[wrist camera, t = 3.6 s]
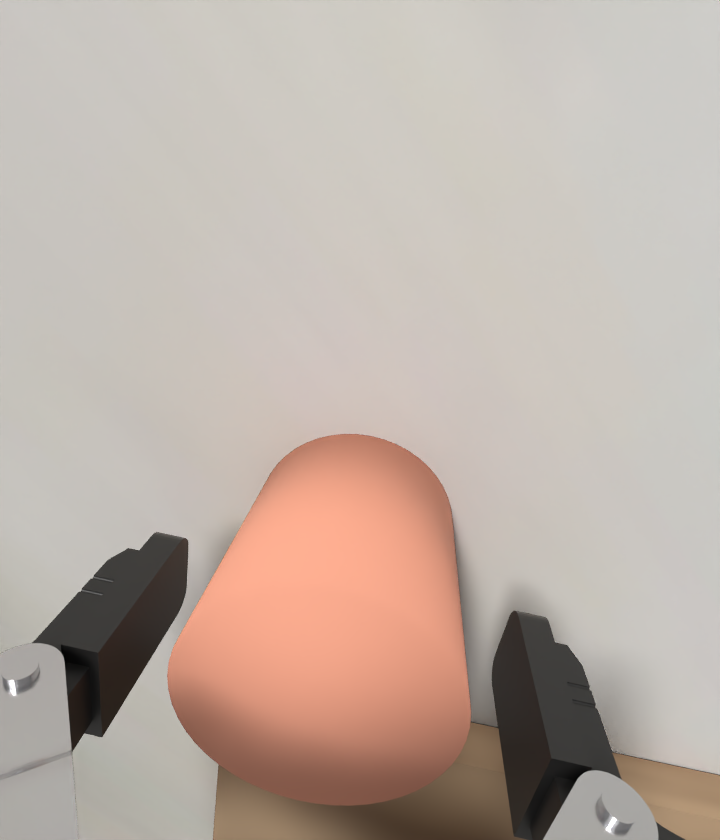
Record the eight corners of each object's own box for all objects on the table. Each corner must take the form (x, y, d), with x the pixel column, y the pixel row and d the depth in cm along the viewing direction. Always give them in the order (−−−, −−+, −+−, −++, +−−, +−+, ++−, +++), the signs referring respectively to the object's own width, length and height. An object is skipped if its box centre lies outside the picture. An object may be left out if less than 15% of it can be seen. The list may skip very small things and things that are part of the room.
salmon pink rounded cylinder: (269, 416, 14) (168, 555, 8) (473, 455, 14) (508, 624, 8) (253, 577, 16) (166, 771, 11) (428, 613, 16) (432, 830, 10)
